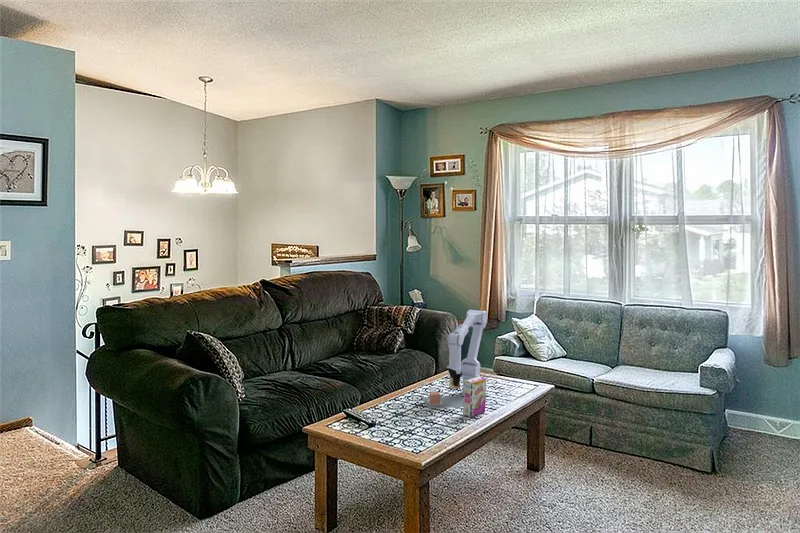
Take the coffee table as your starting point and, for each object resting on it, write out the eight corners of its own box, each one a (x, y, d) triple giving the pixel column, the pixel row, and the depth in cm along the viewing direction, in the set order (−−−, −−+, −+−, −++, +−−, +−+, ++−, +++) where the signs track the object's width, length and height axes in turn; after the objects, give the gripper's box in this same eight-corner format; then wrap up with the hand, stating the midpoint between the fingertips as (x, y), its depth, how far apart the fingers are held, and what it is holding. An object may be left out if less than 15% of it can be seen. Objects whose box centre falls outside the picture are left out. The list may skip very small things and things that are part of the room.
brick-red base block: (438, 400, 276) (438, 392, 275) (440, 403, 271) (440, 394, 271) (429, 401, 275) (429, 392, 274) (431, 404, 270) (431, 395, 270)
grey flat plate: (460, 396, 283) (460, 396, 283) (468, 406, 267) (468, 406, 267) (421, 398, 280) (421, 397, 280) (428, 408, 264) (428, 408, 264)
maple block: (457, 385, 276) (458, 377, 276) (460, 388, 272) (460, 379, 272) (449, 386, 276) (449, 377, 275) (451, 388, 271) (451, 379, 271)
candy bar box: (471, 418, 252) (471, 382, 251) (462, 415, 255) (463, 380, 254) (486, 412, 260) (486, 378, 258) (477, 409, 263) (478, 376, 262)
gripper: (443, 354, 279) (443, 380, 280) (450, 361, 265) (450, 389, 266) (457, 353, 280) (457, 380, 281) (465, 360, 266) (464, 388, 267)
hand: (454, 384), depth 274 cm, fingers closed on maple block, 4 cm apart
